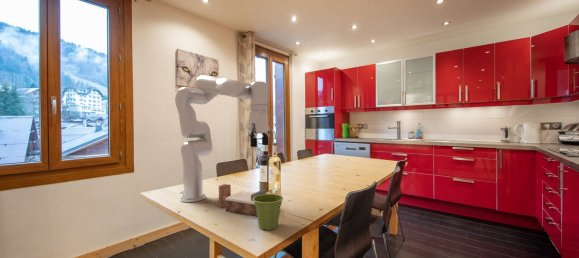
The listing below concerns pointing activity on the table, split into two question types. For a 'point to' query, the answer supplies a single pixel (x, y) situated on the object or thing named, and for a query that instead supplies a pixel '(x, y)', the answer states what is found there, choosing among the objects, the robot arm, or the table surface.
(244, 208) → the toolbox
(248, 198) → the toolbox lid
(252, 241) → the table surface
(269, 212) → the plant pot
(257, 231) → the table surface
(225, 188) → the salmon orange block
